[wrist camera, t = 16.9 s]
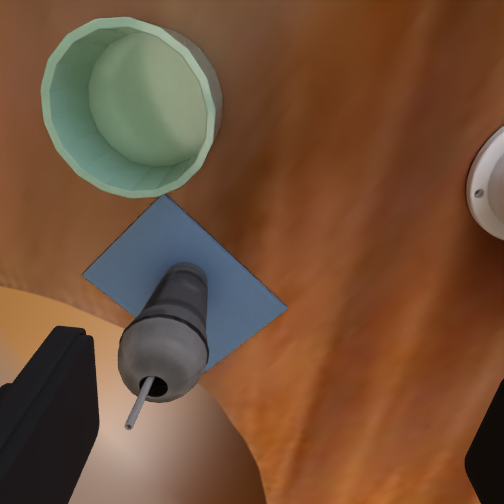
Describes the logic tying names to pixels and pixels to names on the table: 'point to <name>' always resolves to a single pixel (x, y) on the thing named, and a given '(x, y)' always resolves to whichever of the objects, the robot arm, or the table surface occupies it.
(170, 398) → the beverage cup
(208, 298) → the desk mat
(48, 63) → the bucket
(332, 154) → the table surface
